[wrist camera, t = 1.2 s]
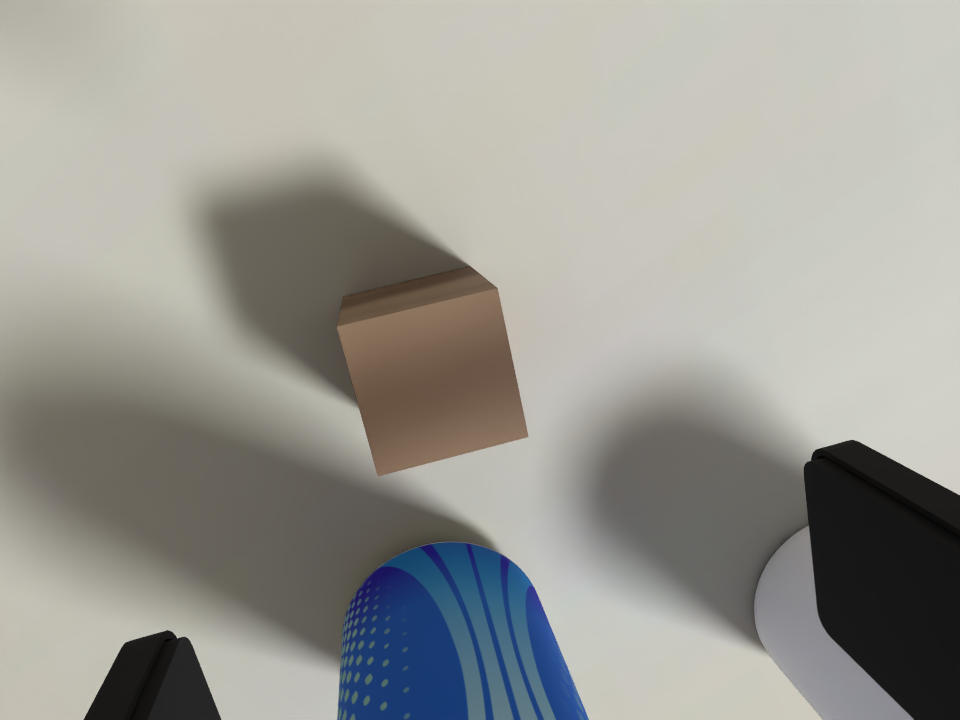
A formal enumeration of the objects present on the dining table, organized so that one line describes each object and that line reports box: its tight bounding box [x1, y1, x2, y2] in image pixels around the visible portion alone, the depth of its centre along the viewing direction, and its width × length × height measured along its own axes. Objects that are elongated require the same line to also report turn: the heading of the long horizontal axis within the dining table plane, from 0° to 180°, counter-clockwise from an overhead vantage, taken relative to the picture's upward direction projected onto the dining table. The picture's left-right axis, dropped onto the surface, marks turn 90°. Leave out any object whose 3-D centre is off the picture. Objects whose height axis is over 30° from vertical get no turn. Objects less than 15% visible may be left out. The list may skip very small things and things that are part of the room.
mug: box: [754, 525, 914, 720], centre depth 29 cm, size 9×12×11 cm
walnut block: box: [337, 266, 528, 476], centre depth 25 cm, size 5×5×6 cm
